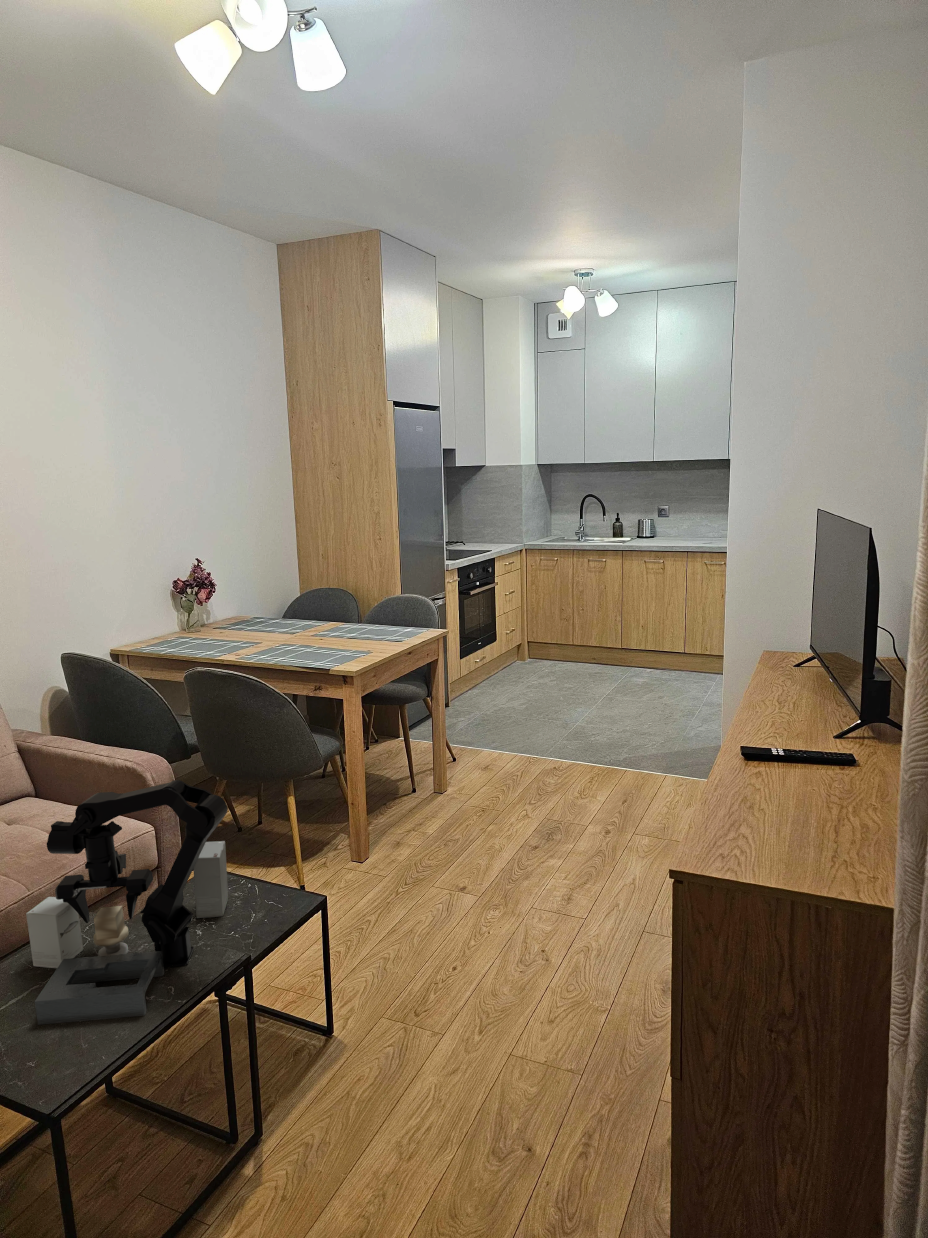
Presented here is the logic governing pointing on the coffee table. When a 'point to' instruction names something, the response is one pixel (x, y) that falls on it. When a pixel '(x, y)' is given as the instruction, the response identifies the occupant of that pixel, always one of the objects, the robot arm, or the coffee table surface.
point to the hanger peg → (110, 931)
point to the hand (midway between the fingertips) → (109, 920)
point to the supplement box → (53, 932)
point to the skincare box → (211, 880)
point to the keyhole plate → (103, 1002)
